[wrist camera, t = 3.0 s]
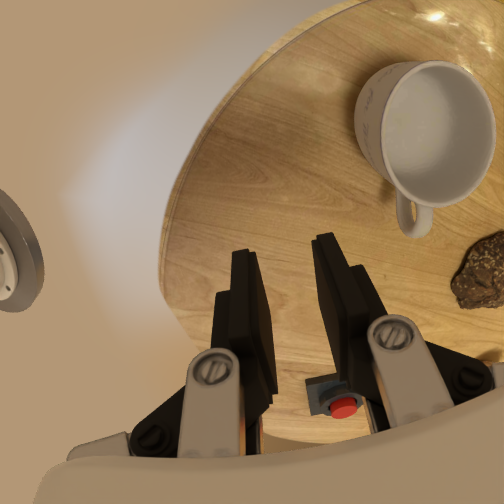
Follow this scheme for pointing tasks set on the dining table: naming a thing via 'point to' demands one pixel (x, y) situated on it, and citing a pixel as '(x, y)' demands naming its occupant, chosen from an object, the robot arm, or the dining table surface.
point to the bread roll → (482, 276)
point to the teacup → (426, 135)
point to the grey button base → (328, 393)
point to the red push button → (343, 408)
